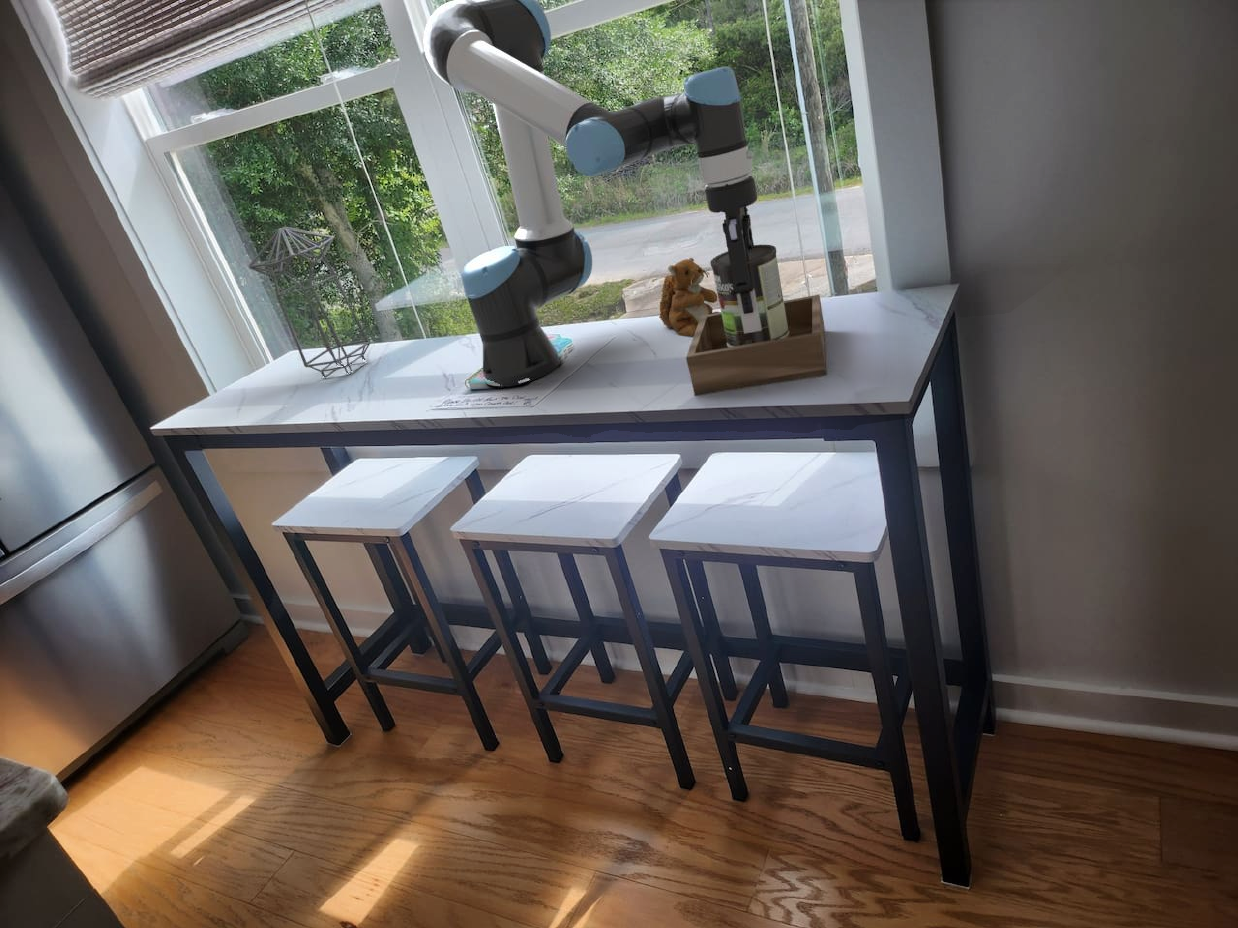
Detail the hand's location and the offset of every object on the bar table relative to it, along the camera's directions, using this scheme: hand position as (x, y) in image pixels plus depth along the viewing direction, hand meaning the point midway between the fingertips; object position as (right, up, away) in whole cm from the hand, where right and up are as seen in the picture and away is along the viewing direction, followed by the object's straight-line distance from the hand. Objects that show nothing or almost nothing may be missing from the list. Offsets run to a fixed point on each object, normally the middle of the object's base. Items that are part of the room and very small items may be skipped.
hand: (755, 320), depth 138 cm
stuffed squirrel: (-8, +4, +31) cm, 33 cm away
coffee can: (+1, -3, +1) cm, 3 cm away
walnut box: (+2, -6, +3) cm, 7 cm away
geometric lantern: (-88, -1, +67) cm, 111 cm away
